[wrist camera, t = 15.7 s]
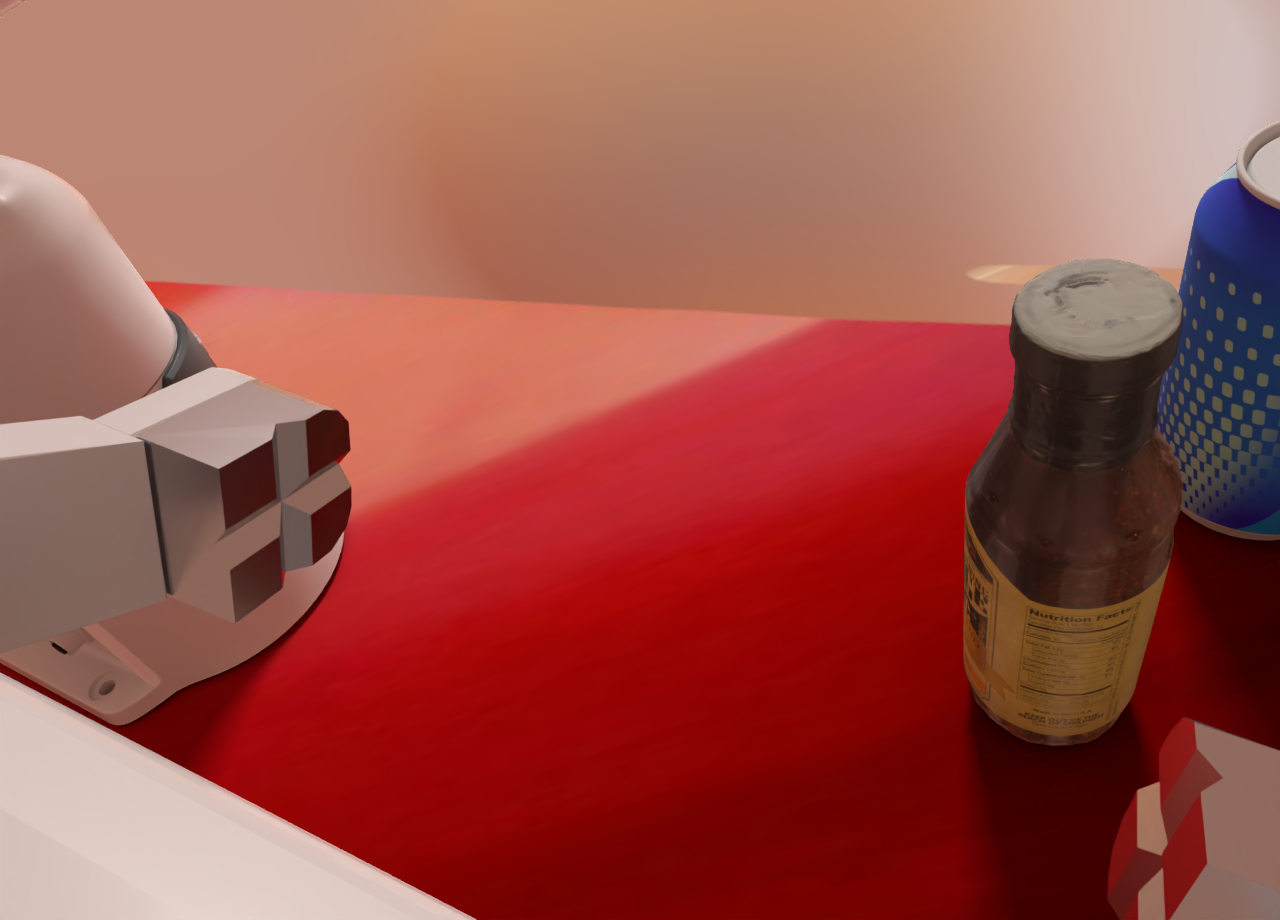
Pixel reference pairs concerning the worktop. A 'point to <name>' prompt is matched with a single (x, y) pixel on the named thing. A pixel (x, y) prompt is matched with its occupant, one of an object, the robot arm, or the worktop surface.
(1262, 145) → the beer can
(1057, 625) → the sauce bottle
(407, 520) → the worktop surface
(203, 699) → the worktop surface
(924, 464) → the worktop surface
